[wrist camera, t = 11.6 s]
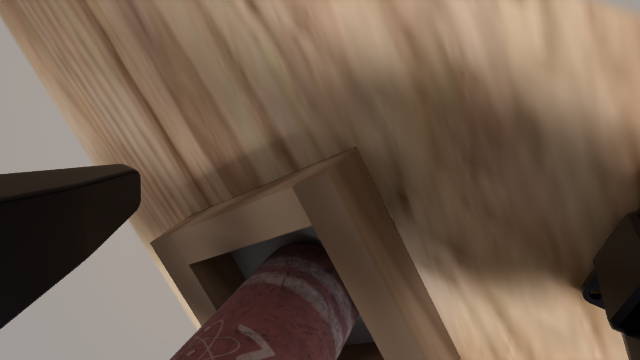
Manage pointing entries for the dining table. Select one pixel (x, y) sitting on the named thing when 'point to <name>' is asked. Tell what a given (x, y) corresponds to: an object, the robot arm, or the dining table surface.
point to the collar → (323, 230)
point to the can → (280, 312)
